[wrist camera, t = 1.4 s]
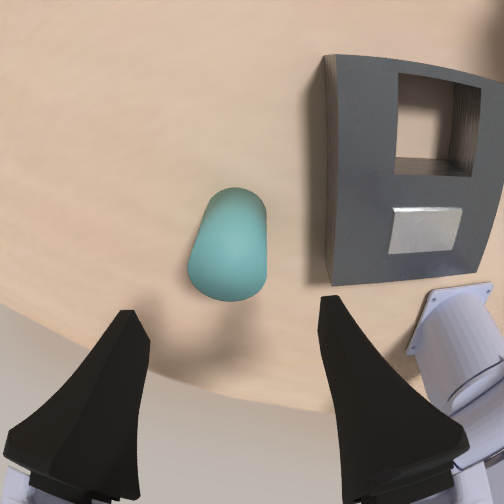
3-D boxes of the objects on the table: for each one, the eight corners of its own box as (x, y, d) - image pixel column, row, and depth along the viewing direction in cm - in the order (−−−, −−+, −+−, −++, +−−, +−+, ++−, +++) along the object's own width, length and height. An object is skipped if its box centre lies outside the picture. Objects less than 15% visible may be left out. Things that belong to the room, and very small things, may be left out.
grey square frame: (459, 249, 21) (477, 274, 18) (324, 258, 22) (331, 288, 19) (488, 80, 13) (518, 88, 10) (323, 55, 14) (336, 54, 11)
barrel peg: (268, 238, 21) (268, 299, 16) (211, 242, 22) (196, 302, 17) (264, 185, 19) (263, 237, 14) (201, 190, 19) (179, 242, 14)
